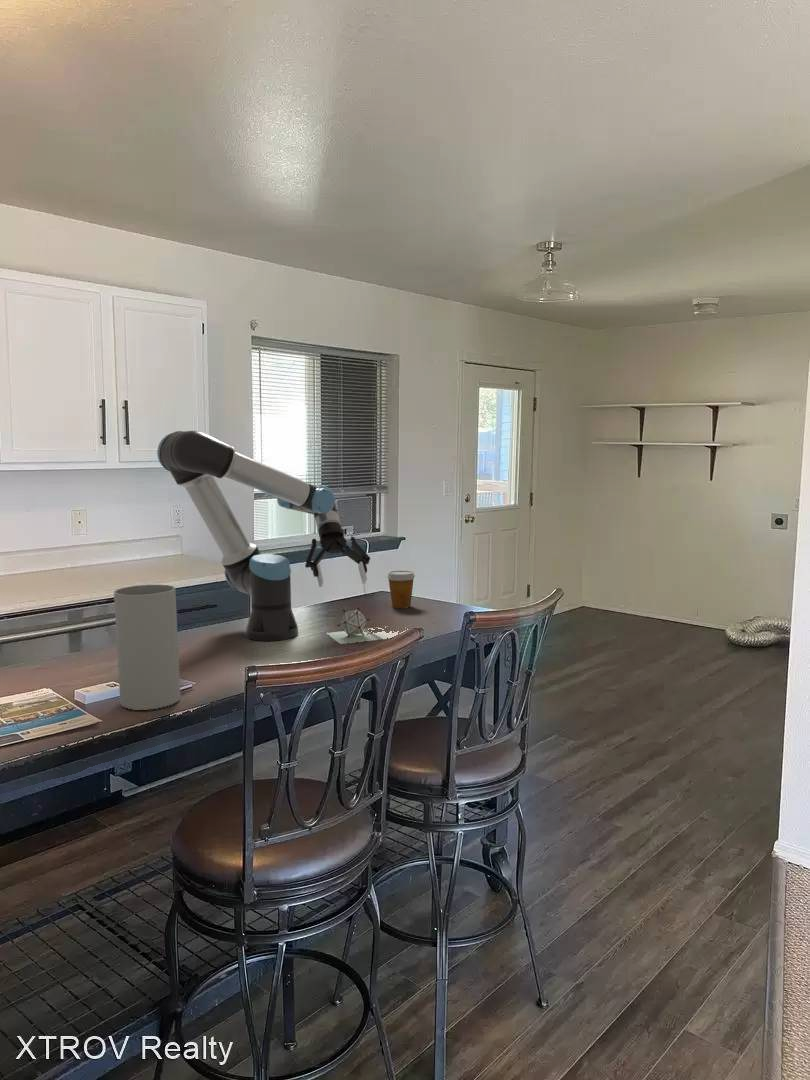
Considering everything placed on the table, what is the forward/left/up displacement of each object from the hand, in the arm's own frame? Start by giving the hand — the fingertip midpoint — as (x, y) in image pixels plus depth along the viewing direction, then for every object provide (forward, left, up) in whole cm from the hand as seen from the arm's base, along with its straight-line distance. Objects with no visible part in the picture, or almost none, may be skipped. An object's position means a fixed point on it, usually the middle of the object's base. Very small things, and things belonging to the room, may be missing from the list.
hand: (343, 583), depth 235 cm
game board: (+5, -10, -14) cm, 18 cm away
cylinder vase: (-60, -48, -15) cm, 78 cm away
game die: (0, -9, -14) cm, 17 cm away
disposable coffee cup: (+28, +24, -15) cm, 40 cm away
